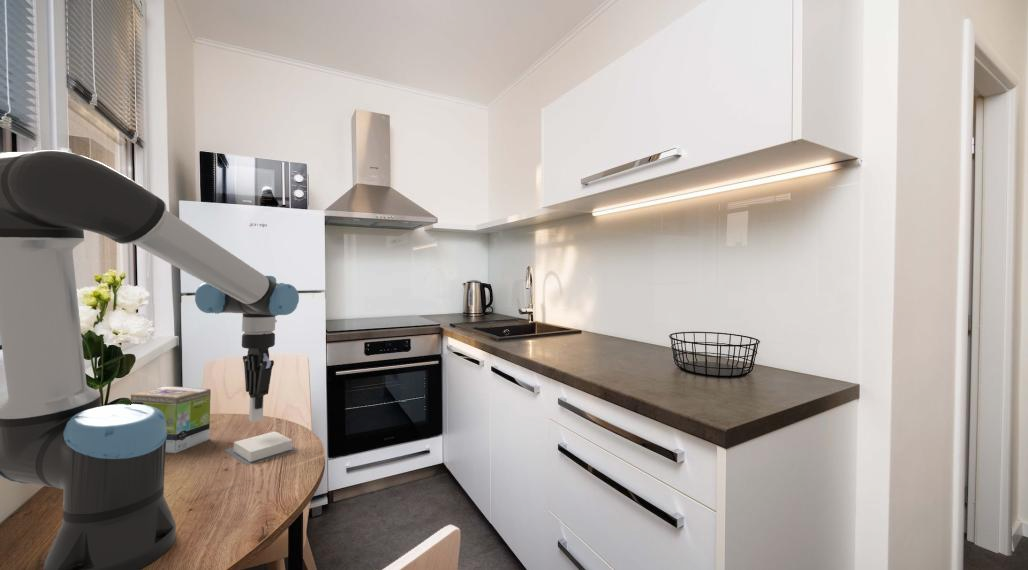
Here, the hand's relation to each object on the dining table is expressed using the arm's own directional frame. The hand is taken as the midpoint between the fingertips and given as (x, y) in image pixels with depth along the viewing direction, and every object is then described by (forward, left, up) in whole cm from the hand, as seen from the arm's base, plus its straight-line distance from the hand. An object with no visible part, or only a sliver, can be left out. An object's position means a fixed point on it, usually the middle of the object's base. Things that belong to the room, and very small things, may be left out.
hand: (255, 419), depth 107 cm
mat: (0, -3, -8) cm, 8 cm away
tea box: (-13, +20, -8) cm, 25 cm away
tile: (0, +1, -6) cm, 6 cm away
